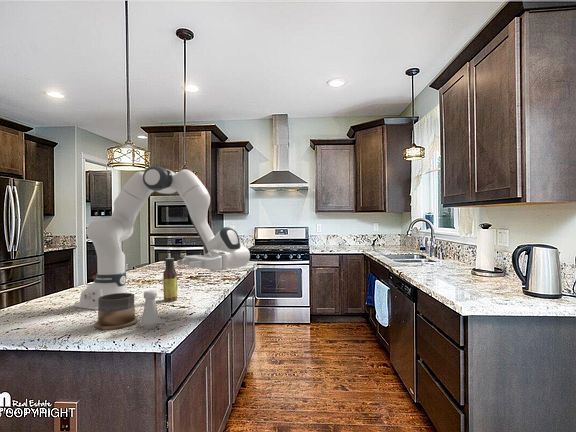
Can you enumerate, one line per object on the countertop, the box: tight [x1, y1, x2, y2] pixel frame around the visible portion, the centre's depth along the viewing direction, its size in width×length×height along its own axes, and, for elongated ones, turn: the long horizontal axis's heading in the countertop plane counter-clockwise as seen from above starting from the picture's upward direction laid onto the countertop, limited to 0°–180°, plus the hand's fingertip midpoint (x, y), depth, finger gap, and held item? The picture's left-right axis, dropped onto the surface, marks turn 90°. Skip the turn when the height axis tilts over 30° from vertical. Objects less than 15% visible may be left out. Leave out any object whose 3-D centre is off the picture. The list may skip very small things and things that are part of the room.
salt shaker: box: [140, 289, 160, 331], centre depth 116 cm, size 6×6×13 cm
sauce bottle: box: [162, 257, 178, 302], centre depth 156 cm, size 7×6×20 cm
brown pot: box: [94, 292, 139, 331], centre depth 121 cm, size 14×14×10 cm
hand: (183, 263), depth 125 cm, fingers open, 8 cm apart
